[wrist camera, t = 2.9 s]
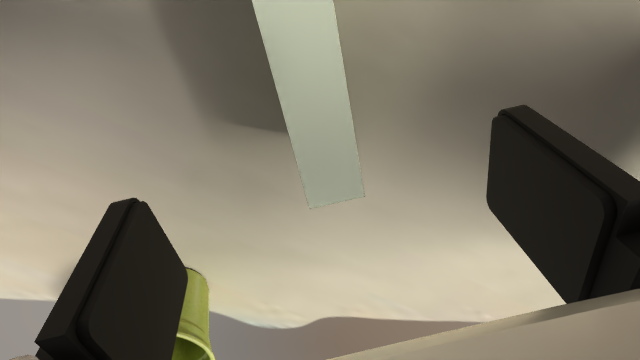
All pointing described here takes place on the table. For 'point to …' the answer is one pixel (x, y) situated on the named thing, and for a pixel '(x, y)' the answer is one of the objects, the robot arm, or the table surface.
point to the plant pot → (194, 322)
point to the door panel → (313, 95)
